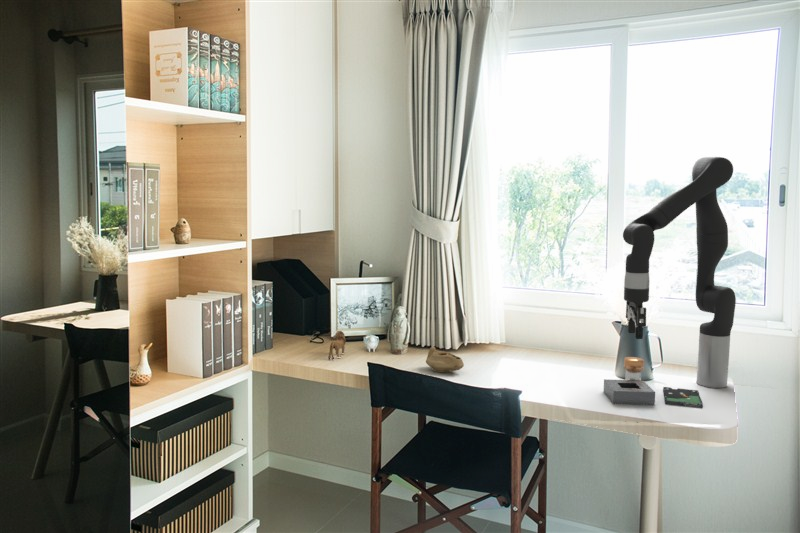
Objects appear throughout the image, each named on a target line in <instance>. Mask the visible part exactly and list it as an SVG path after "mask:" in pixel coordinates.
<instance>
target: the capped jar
mask: <svg viewBox="0 0 800 533" xmlns="http://www.w3.org/2000/svg"><path fill="white" fill-rule="evenodd" d="M644 364H645V360H644V359H643V358H641V357H636V356H626V357H624V359H623V369H625V374H624V375H625V376H624V380H642V371H644V367H645V366H644Z"/></svg>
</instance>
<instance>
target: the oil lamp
mask: <svg viewBox="0 0 800 533" xmlns="http://www.w3.org/2000/svg"><path fill="white" fill-rule="evenodd" d="M425 363H426V365H427V366H428V367H430V368H431V369H432V371H434V372H437V373H450V372H452V371H453V372H455V371H459V370H461V369H462V368H463V367H464V366H465V364H464V362H463V359H462V357H460V356H457V355H455V354H453V353H451V352H448V351H443V350H442V351H441V350H438V349H436V347H435V346H431V347H430V348H429V350H428V354H427V356H426V359H425Z"/></svg>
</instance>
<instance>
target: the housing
mask: <svg viewBox="0 0 800 533" xmlns="http://www.w3.org/2000/svg"><path fill="white" fill-rule="evenodd" d="M603 393H604V395H605V396H606V398H607V399H608V400H609V401H610V402H611V404H612V405H625V406H655V403H656V402H655V401H656V391H655V390H654V389H653V388H652V387H650V385H649V384H648V383H646V382H645V381H644V380H642V379H641V380H625V379H603Z"/></svg>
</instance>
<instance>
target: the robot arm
mask: <svg viewBox="0 0 800 533" xmlns="http://www.w3.org/2000/svg"><path fill="white" fill-rule="evenodd" d="M733 174H734V166H733V163H732V161H730V160H729V159H728V158H726V157H721V156H705V157H700V158H699V159H697V160H696V161H695V162H694V164H693V167H692V172H691V177H692V178H691V179H692V180H691V182H690V183H689V184H687V185H686V186H683V187H681V188H680V189H678V190H676V191H675V192H673V193H671V194H669V195H668V196H665V197H664V198H663V199H662V200H660V201H659V202H658V203H657V204H656V205H655V206H653V207H652V208H651V209H650V210H649V211H648V212H646V213H644V214H641V215H640V216H639V217H637V218H636V219H634V220H632V221H631V222H630V223H629V224H628V225H627V226H625V228H624V230H623V233H622V237H623V240H624V242H625V243H626V244H628V245H630V246H632V248H631V253H629V254H627V256H626V258H625V275H624V280H623V281H624V282H623V283H624V285H623V288H624V289H623V300H624V301H626V307H625V318H626V319H627V332H628V334H634V338H635V339H636V340H643V336H644V328H646V326H647V307H644V306H643V303H647V302H649V299H650V258H651V256H652V252H653V248H654V245H655V231H657V230H662V229H664V228H666V227H667V226H668V225H669V224H670V223H672V222H673V221H674V220H675V219H677V217H679V216H680V215H681V214H682V213H683V212H685V211H686V210H687V209H689V208H690V207H692V206H693V205H694V204H695V221H696V222H695V223H696V232H695V233H696V250H697V252H696V253H697V262H696V263H697V270H696V271H697V274H696V284H695V303H696V307H697V308H698V310H700V311H701V312H704V313H710V314H713V319H712V320H711V321H709V322H703V323H701V324H700V325H699V336H698V337H699V338H698V351H697V353H698V354H697V355H698V356H697V368H696V369H697V370H696V383H697V385H700V386H703V387H706V388H713V389H723V388H726V387H728V377H729V376H728V375H729V365H730V364H729V362H730V349H731V348H730V347H731V332H732V331H731V330H732V328H733V326H734V317H735V312H736V311H735V310H736V303H737V300H736V298H737V297H736V293H735V291H734V289H733V288H731V287H729V286H723V285H722V286H721V285H715V273H716V268H717V266H718V264H719V263H720V261H721V259H722V258H723V257H724V255H725V254H726V251H727V250H728V246H729V232H728V231H729V228H728V224H727V219H726V218H725V215H724V214H723V211H722V210H721V208H720V205H719V202H718V196H717V190H718V189H719V188H721V187H722V186H724V185H725V184H727V183H729V181H730V180H731V178H732V177H733Z"/></svg>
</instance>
